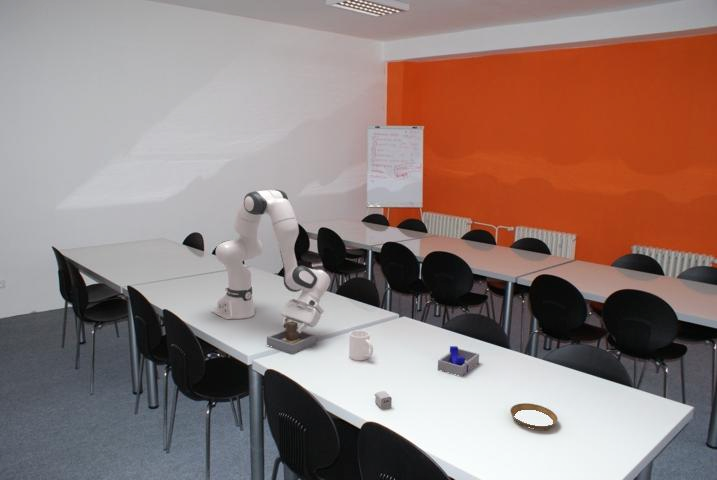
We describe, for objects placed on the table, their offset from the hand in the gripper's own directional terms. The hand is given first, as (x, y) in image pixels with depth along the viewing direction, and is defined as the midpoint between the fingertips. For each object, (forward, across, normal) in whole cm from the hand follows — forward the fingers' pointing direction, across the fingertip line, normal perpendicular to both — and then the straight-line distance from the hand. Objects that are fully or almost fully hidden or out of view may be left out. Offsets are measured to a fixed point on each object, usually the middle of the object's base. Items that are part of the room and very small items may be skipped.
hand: (290, 329), depth 233 cm
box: (+5, 0, +6) cm, 7 cm away
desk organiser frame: (-18, +65, +28) cm, 73 cm away
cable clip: (-18, +65, +28) cm, 73 cm away
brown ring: (-3, +105, +13) cm, 106 cm away
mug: (-3, +32, +13) cm, 34 cm away
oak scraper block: (+4, 0, +5) cm, 6 cm away
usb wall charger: (+15, +62, -4) cm, 64 cm away
